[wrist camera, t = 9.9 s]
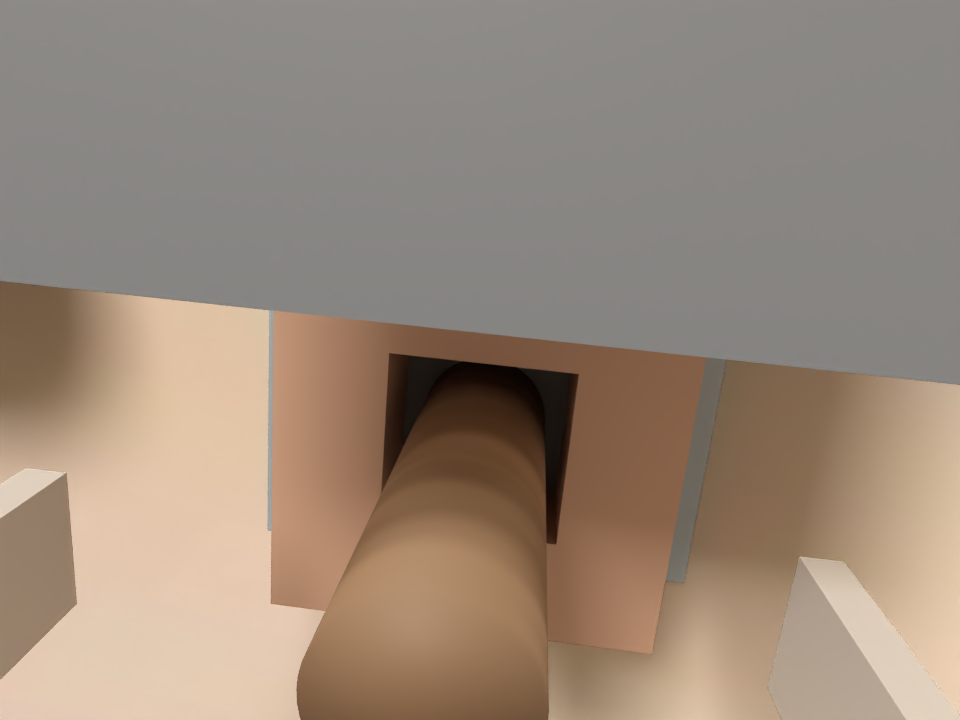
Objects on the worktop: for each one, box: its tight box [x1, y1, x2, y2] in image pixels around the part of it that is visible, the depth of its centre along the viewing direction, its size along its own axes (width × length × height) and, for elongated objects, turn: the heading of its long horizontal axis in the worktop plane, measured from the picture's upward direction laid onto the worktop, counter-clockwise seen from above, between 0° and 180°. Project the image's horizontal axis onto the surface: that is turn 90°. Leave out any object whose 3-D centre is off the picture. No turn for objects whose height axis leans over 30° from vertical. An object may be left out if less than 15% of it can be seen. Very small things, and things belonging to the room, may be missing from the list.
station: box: [0, 0, 960, 654], centre depth 14 cm, size 14×25×16 cm, turn 175°
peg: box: [297, 361, 549, 720], centre depth 16 cm, size 4×4×12 cm
